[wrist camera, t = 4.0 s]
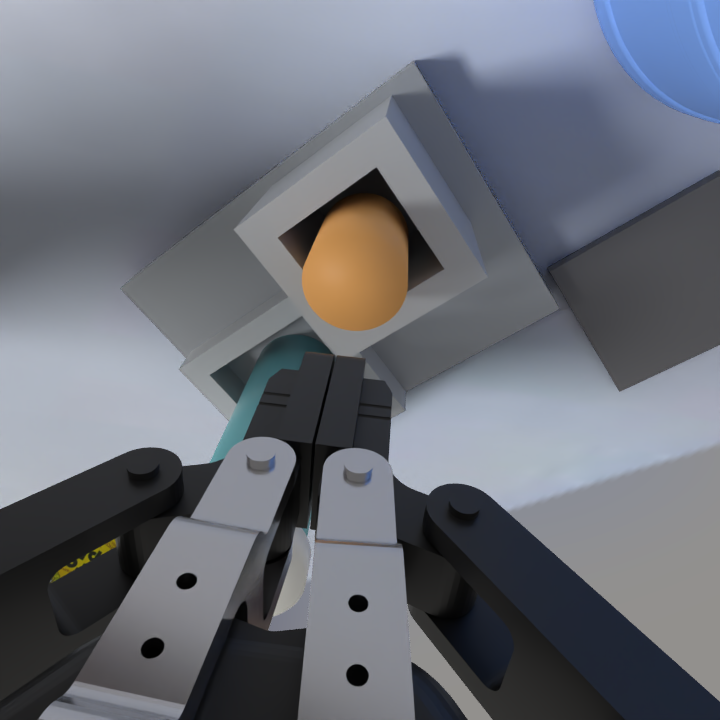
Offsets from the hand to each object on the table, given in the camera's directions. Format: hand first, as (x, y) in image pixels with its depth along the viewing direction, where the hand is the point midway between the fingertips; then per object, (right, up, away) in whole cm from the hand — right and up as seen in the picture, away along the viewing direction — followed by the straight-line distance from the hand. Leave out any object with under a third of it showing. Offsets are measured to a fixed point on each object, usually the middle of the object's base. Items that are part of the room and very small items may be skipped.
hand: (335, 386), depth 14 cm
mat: (+17, +5, +17) cm, 24 cm away
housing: (-1, +5, +18) cm, 19 cm away
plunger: (+1, +6, +9) cm, 11 cm away
